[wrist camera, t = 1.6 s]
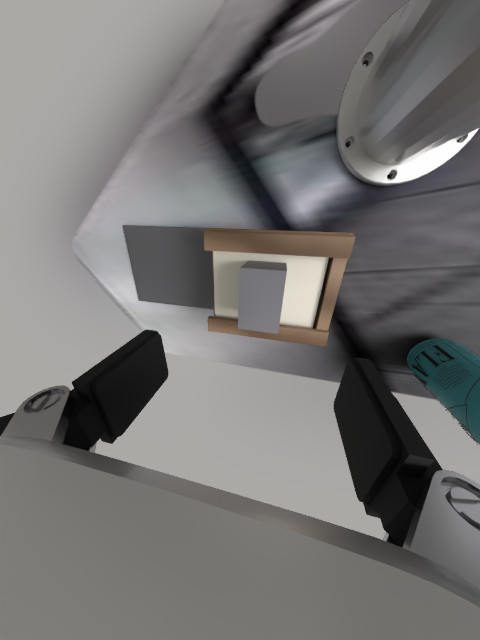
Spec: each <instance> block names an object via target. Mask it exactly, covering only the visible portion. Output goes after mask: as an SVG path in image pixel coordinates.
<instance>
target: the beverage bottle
mask: <svg viewBox="0 0 480 640" xmlns="http://www.w3.org/2000/svg"><path fill="white" fill-rule="evenodd" d="M463 346H464V345H463ZM463 346H462V345H461V344H459V343H457V342H455V341H454V340H453V341H452V340H449V339H444V338H434V339H429V340H425V341H423V342H420V343H419V344H417V345H415V346H414V347H413V348H412V349H411V350H410V352H409V353H408V356H407V363H408V365H409V367H408V368H410V369H409V370H412V371H413V372H414V374H415V375H416V376H415V377H417V378H418V379H419V380H420V381H421V382H422V384H423V383H424V384H425V385H424V386H426V387H427V388H428V389H429V390H430V391H431V392H430V393H433V395H434V397H435V396H436V397H437V399H438V400H439V401H440V402H441V403H442V404H443V405H444V406H445V408H447V409H446V410H448V411H449V412H450V413H451V415H453V416H454V417H455V418H456V419H457V420H458V421H459V422H460V423H459V424H461V426H462V427H463V429H464V430H465V431H468V432H469V433H470V434H471V436H472V437H473V439H475V441H476V442H477V443H479V444H480V357H479V356H477V355H476V354H474V353H472V352H473V351H472V352H471V351H469V350H470V349H469V350H468V349H466V348H467V347H466V348H465V347H463ZM412 371H411V372H412ZM426 387H425V388H426ZM427 388H426V389H427ZM428 389H427V390H428ZM437 399H436V400H437ZM468 432H467V434H468ZM468 435H469V434H468ZM472 437H471V438H472Z"/></svg>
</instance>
